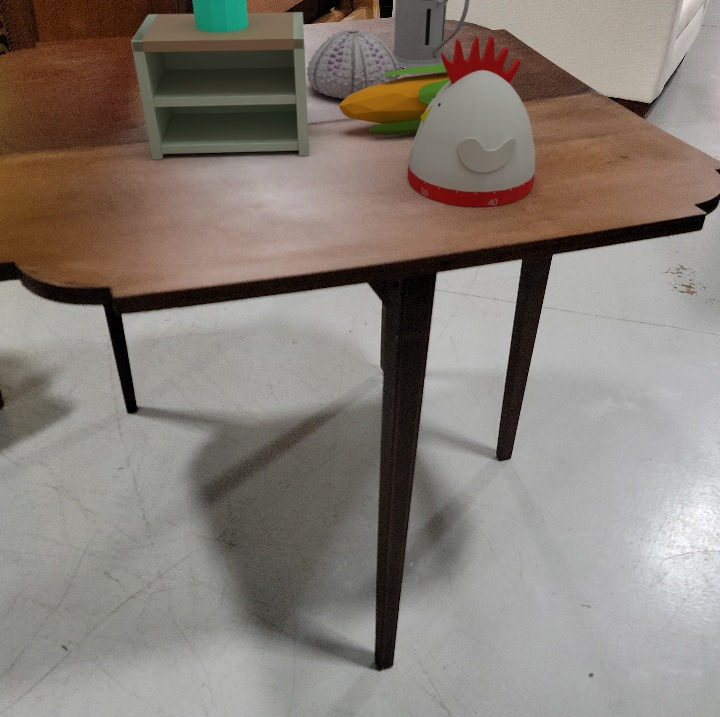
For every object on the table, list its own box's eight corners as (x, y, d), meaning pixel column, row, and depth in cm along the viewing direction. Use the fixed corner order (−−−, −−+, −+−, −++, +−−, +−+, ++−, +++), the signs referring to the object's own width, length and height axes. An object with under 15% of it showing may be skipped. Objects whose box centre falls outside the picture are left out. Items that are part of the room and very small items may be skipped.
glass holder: (419, 51, 122) (425, -50, 113) (481, 71, 114) (492, -37, 104) (379, 60, 118) (381, -44, 109) (440, 82, 109) (448, -30, 100)
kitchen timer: (400, 157, 87) (405, 21, 77) (514, 153, 88) (532, 18, 78) (418, 209, 76) (427, 58, 66) (548, 204, 77) (574, 54, 68)
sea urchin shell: (348, 112, 99) (348, 50, 94) (287, 88, 107) (284, 29, 102) (417, 91, 106) (420, 32, 101) (356, 70, 114) (356, 15, 109)
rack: (152, 159, 86) (130, 40, 78) (165, 123, 95) (148, 14, 87) (309, 155, 87) (304, 38, 79) (307, 120, 96) (302, 11, 88)
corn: (504, 67, 89) (346, 81, 84) (499, 130, 93) (348, 146, 89) (479, 55, 95) (330, 67, 90) (475, 115, 99) (333, 129, 95)
